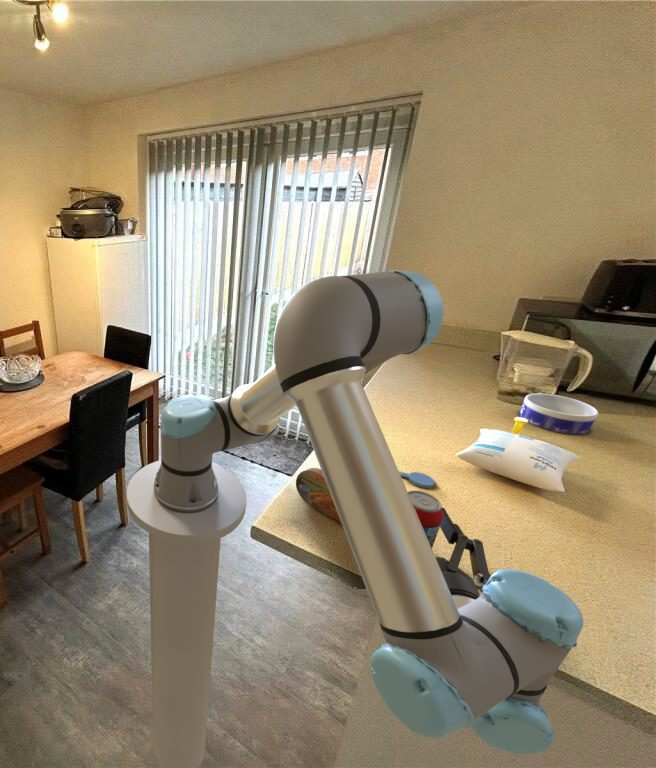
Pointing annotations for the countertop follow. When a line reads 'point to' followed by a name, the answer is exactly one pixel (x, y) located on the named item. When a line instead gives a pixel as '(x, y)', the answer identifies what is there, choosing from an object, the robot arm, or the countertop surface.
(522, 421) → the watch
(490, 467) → the pouch
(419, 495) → the beverage can
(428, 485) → the spoon
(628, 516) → the countertop surface
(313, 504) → the tin
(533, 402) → the dog bowl
